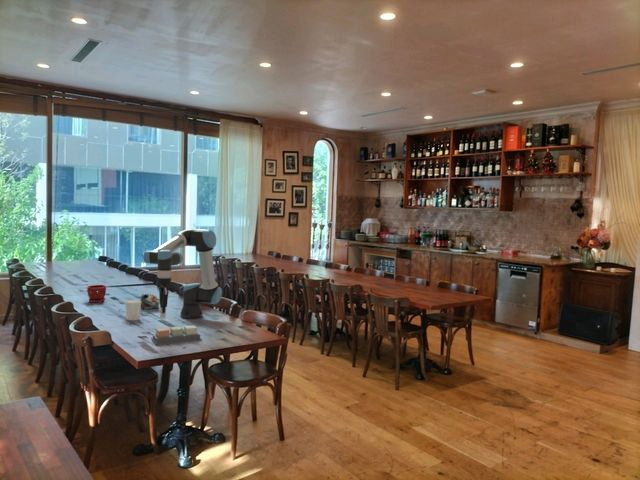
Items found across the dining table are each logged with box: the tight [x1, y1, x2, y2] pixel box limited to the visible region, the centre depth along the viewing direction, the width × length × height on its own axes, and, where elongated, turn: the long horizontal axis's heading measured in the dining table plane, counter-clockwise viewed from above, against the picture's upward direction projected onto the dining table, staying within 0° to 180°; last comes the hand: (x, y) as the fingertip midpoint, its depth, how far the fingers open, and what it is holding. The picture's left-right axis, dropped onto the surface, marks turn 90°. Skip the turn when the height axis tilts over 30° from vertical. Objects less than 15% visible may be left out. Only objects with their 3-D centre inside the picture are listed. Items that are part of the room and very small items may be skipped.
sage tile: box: [169, 326, 184, 336], centre depth 284 cm, size 6×6×4 cm
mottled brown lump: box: [139, 293, 160, 310], centre depth 362 cm, size 15×12×14 cm
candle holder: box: [125, 299, 142, 321], centre depth 328 cm, size 10×10×12 cm
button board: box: [151, 331, 202, 346], centre depth 285 cm, size 12×26×3 cm, turn 121°
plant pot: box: [86, 284, 107, 303], centre depth 376 cm, size 13×13×12 cm
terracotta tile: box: [155, 327, 170, 338], centre depth 280 cm, size 6×6×4 cm
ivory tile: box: [183, 325, 198, 335], centre depth 289 cm, size 6×6×4 cm
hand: (162, 318), depth 280 cm, fingers closed
